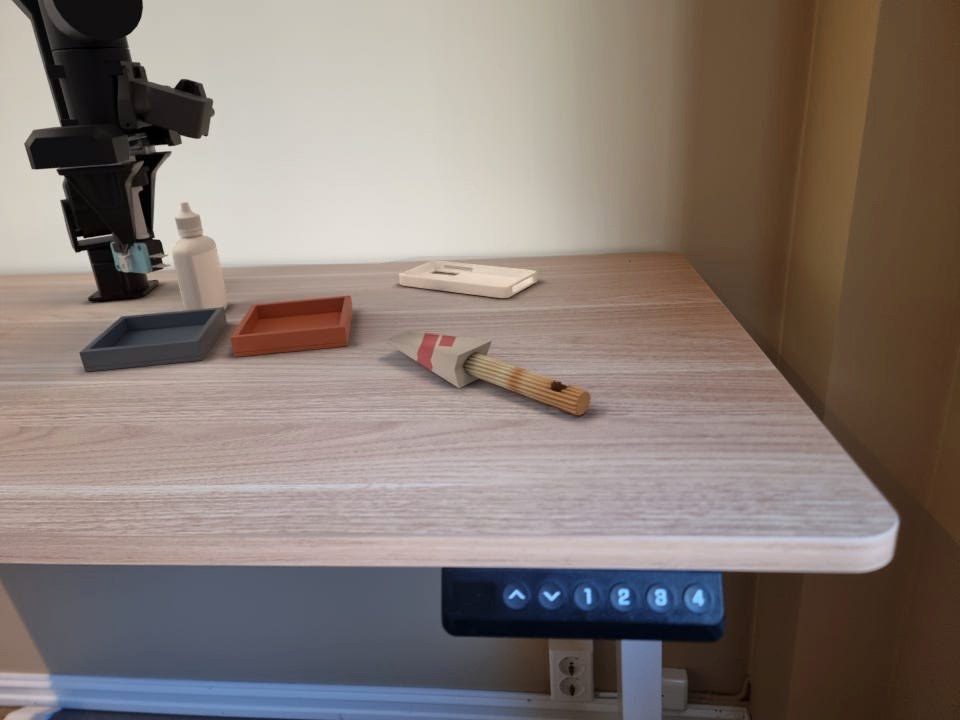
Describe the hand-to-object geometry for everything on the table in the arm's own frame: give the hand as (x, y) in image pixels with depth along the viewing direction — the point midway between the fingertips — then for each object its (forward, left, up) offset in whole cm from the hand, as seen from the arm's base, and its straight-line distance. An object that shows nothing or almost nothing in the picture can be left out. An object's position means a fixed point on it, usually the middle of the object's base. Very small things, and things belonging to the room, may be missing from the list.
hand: (138, 238), depth 62 cm
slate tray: (0, 0, -11) cm, 11 cm away
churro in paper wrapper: (+16, +29, -11) cm, 35 cm away
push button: (+1, 0, -3) cm, 3 cm away
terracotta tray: (0, +13, -11) cm, 16 cm away
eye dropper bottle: (-10, +2, -11) cm, 15 cm away
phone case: (-12, +31, -11) cm, 35 cm away
